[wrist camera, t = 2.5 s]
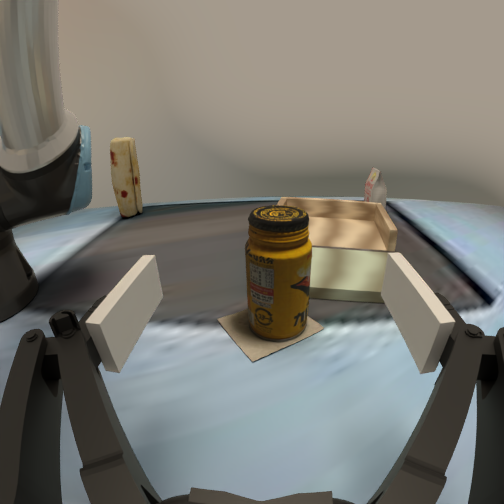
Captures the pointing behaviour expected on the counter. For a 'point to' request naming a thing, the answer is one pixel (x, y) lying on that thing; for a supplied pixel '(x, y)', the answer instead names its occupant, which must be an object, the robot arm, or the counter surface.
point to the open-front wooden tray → (347, 247)
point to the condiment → (275, 283)
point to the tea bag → (375, 188)
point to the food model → (125, 176)
